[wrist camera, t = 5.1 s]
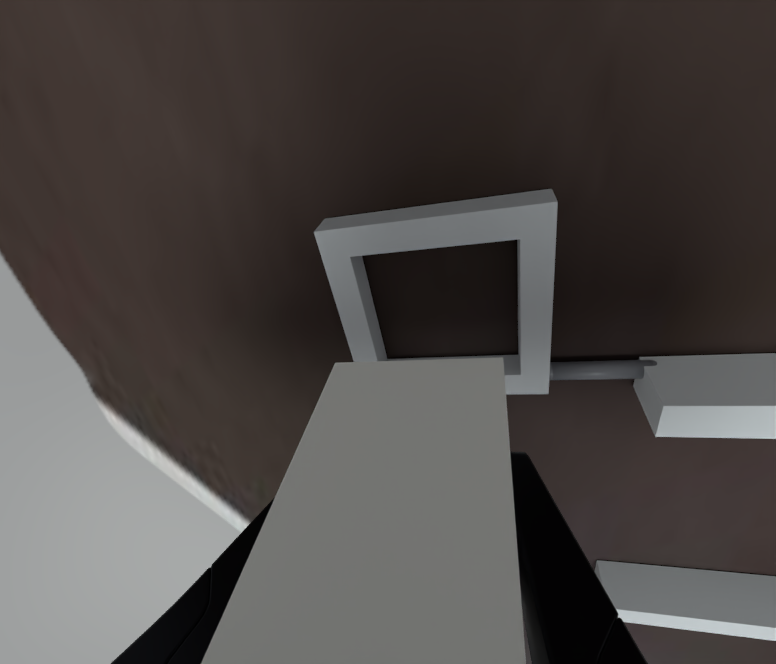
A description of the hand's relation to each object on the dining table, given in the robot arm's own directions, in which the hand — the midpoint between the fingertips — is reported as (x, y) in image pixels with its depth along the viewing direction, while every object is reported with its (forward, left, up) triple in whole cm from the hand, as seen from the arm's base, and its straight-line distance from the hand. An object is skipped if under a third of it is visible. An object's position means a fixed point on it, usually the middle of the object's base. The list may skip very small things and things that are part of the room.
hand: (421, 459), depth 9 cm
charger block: (0, 0, -1) cm, 1 cm away
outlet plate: (0, 0, -7) cm, 7 cm away
